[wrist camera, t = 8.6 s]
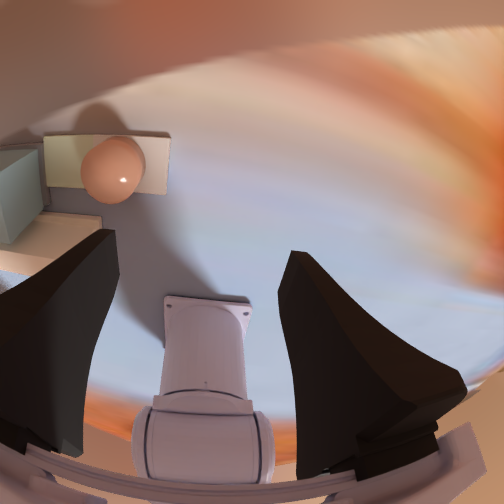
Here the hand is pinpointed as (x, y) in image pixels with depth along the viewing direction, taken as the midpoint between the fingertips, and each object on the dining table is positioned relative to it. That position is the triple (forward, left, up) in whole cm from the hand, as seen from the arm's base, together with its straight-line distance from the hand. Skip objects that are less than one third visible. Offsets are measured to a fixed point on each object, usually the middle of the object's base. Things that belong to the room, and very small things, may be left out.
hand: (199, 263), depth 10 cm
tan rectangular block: (-6, +14, -10) cm, 18 cm away
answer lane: (0, +9, -10) cm, 13 cm away
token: (0, +7, -10) cm, 12 cm away
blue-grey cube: (-1, +16, -9) cm, 18 cm away
